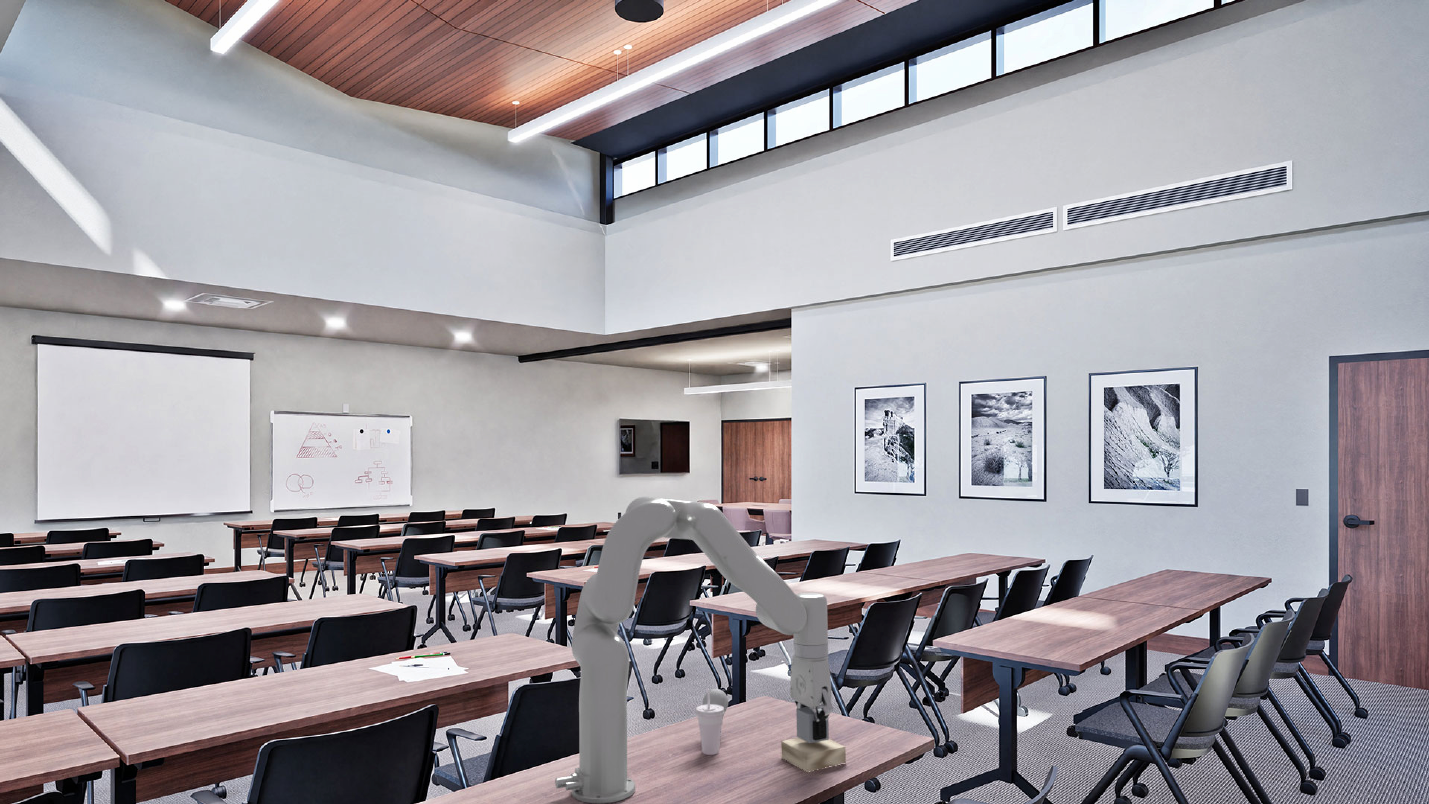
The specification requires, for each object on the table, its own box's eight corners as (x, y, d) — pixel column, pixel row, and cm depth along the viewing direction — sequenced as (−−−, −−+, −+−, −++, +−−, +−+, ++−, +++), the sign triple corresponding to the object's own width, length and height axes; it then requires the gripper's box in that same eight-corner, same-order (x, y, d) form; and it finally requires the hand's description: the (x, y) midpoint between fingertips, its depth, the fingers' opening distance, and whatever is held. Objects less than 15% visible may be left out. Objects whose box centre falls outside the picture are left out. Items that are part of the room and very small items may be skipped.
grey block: (809, 743, 180) (809, 714, 181) (796, 736, 185) (796, 708, 185) (828, 739, 183) (828, 711, 183) (815, 733, 187) (815, 705, 188)
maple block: (806, 774, 177) (806, 754, 177) (781, 759, 186) (781, 741, 186) (845, 765, 181) (845, 746, 182) (819, 751, 190) (819, 733, 190)
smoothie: (691, 754, 189) (690, 690, 190) (704, 745, 194) (704, 683, 195) (716, 758, 186) (715, 693, 187) (729, 749, 191) (728, 686, 192)
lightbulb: (699, 734, 202) (698, 687, 203) (722, 730, 205) (721, 684, 205) (709, 742, 197) (709, 693, 197) (733, 738, 199) (732, 690, 200)
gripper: (776, 645, 191) (777, 727, 190) (818, 660, 176) (820, 750, 175) (803, 641, 194) (805, 722, 193) (847, 656, 179) (849, 744, 178)
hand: (812, 734), depth 184 cm, fingers closed on grey block, 4 cm apart
